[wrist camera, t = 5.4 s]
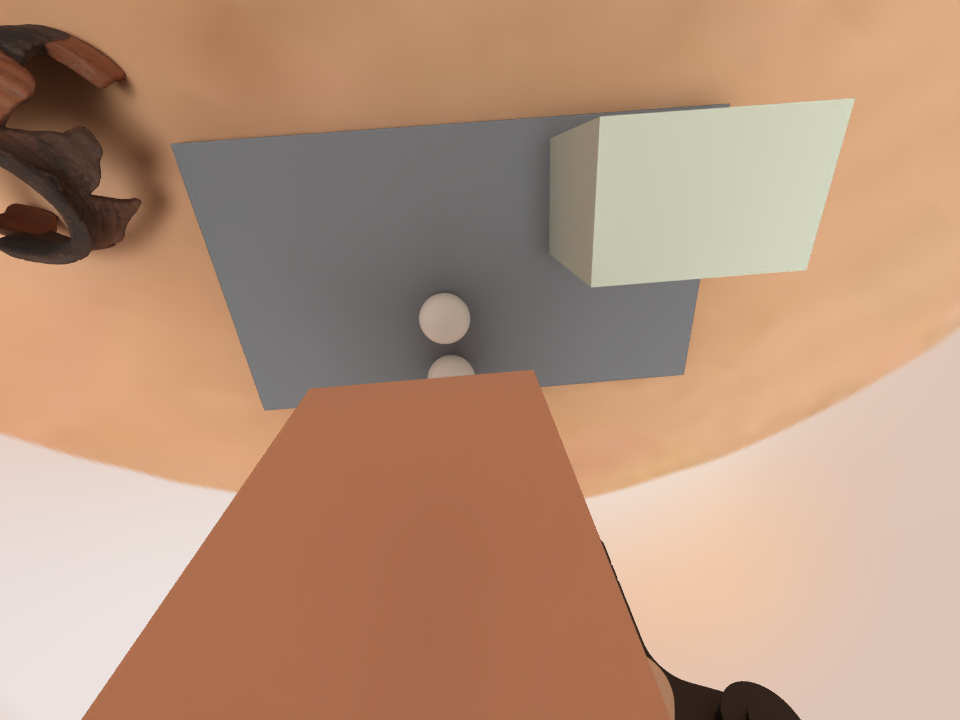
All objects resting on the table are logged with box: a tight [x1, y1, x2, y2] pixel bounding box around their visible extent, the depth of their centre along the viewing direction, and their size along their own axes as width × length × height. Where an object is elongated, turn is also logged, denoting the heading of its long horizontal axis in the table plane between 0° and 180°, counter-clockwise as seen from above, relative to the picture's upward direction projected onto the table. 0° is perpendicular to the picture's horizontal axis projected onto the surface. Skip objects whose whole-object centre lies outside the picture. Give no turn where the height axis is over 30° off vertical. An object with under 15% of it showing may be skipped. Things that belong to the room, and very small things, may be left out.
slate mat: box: [171, 104, 730, 410], centre depth 24 cm, size 16×29×1 cm, turn 94°
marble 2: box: [428, 355, 475, 379], centre depth 25 cm, size 3×3×3 cm
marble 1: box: [419, 293, 470, 344], centre depth 23 cm, size 3×3×3 cm
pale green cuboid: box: [549, 98, 855, 287], centre depth 18 cm, size 9×6×8 cm, turn 94°
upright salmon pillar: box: [82, 370, 671, 720], centre depth 9 cm, size 9×6×8 cm, turn 4°
